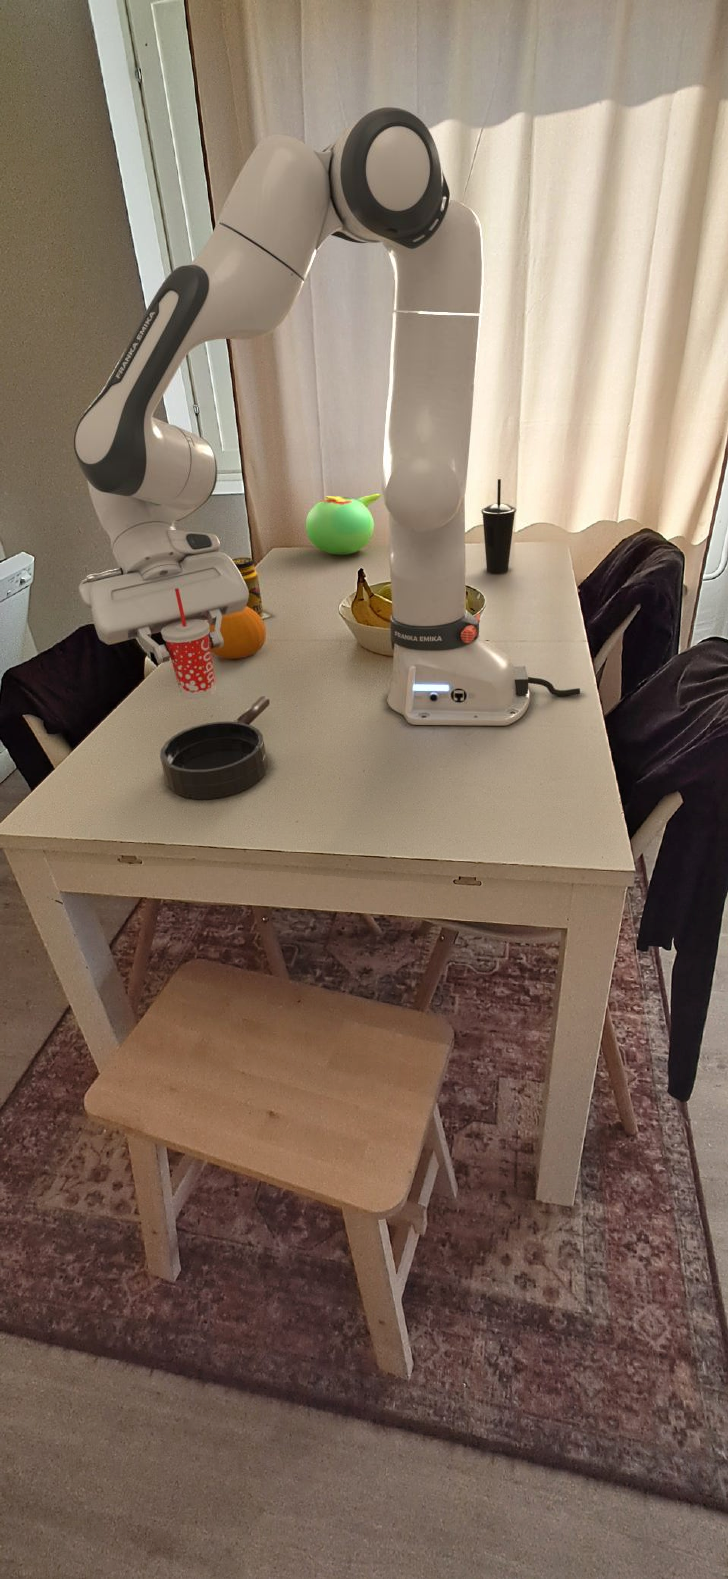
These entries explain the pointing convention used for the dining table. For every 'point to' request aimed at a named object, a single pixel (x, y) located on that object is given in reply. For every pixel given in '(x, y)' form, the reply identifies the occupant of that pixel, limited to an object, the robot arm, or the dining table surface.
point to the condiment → (251, 584)
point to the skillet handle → (251, 713)
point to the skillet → (214, 760)
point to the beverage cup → (190, 655)
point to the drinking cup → (498, 534)
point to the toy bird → (341, 524)
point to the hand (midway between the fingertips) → (192, 653)
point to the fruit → (240, 634)
